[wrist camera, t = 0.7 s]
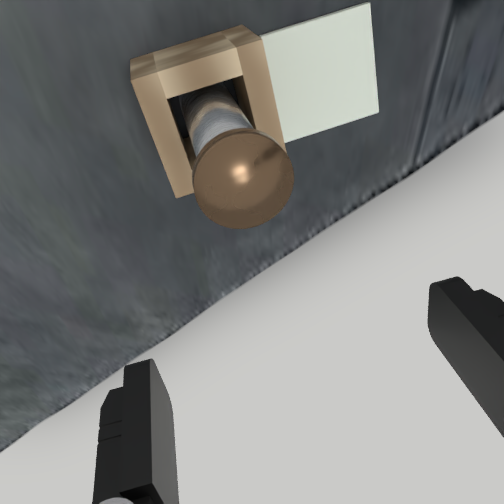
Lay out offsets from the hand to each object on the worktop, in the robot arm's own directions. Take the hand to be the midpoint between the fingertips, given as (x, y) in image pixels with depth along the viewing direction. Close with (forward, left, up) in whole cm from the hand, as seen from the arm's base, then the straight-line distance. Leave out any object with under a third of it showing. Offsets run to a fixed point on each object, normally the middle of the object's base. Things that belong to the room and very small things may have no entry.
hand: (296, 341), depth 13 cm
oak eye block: (-1, 0, -26) cm, 26 cm away
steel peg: (-1, 0, -26) cm, 26 cm away
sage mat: (-10, +1, -26) cm, 27 cm away
